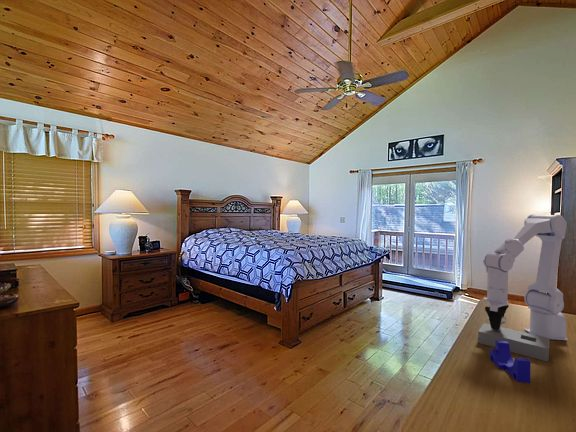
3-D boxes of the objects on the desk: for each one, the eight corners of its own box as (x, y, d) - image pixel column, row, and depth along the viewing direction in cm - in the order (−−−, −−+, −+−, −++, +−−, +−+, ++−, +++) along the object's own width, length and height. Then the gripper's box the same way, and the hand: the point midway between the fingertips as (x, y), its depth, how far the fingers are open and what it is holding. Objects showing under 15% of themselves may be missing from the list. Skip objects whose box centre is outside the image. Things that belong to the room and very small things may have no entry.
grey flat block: (549, 350, 95) (549, 338, 95) (548, 361, 88) (548, 348, 88) (483, 333, 107) (483, 323, 107) (478, 342, 100) (478, 331, 100)
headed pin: (500, 328, 103) (501, 314, 103) (509, 334, 98) (509, 319, 98) (484, 327, 104) (484, 313, 104) (491, 333, 99) (492, 318, 98)
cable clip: (489, 358, 90) (490, 339, 90) (506, 360, 89) (506, 341, 89) (510, 381, 78) (511, 359, 78) (530, 383, 77) (530, 361, 77)
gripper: (487, 281, 108) (486, 317, 109) (479, 289, 98) (478, 329, 98) (511, 285, 103) (510, 323, 104) (505, 293, 93) (504, 335, 93)
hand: (496, 326), depth 101 cm, fingers closed on headed pin, 5 cm apart
